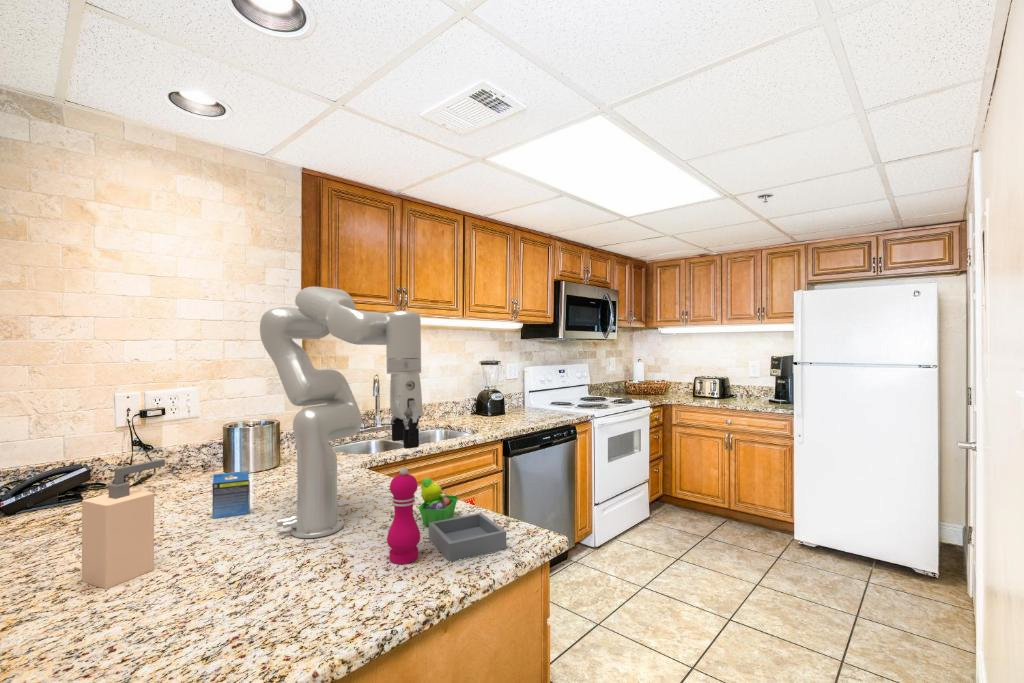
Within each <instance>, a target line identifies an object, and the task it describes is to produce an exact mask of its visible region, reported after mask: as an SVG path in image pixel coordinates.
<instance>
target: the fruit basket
mask: <svg viewBox="0 0 1024 683" xmlns="http://www.w3.org/2000/svg"><path fill="white" fill-rule="evenodd" d="M420 489H421V491H420V492H421V498H422V500H423V502H422V504H420V505H419V506H418V510H419V512H420V515H421V520H422V522H423V523H422V524H423V525H426V526H425V527H429V523H430V522H435V521H440V520H445V519H451V518H453V516H454V513H455V510H456V509H455V508H456V505H457V501H458V499H459V496H458V495H453V494H452V495H449V494H448V495H447V494H441V493H442V492H443V490H442V487H441V486H440V485H439V483H436V482H435V480H433V479H431V478H429V477H427V478H423V479H422V481H421V484H420ZM427 525H428V526H427Z"/></svg>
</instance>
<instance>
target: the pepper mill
mask: <svg viewBox="0 0 1024 683" xmlns="http://www.w3.org/2000/svg"><path fill="white" fill-rule="evenodd" d="M408 472H409V470H408V468H407V467H401V468H400V469H399V474H397V475H396V476H394V477H393V478H392V479H391V481H390V483H389V491H390V493H391V494H392V497H391V500H392V502H391V503H392V505H393V508H394V514H393V515H394V516H393V519H392V520H393V521H392V523H391V525H390V528H389V530H388V532H387V538H386V543H387V546H388V548H389V547H390V550H389V552H388V553H389V554H388V556H389V557H388V559H389V561H390V562H391V563H392V564H395V563H396V565H406V563H407V564H410V562H411V563H413V562H415V561H416V560H418V558H419V548H418V545H419V543H420V541H421V531H420V529H419V526H418V523H417V521H416V519H415V515H414V504H415V503H416V499H415V498H416V495H415V493H416V492H417V490H418V487H419V486H418V481H417V479H416V477H415V476H413V475H412V474H409V473H408ZM414 560H415V561H414ZM412 561H413V562H412Z"/></svg>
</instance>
